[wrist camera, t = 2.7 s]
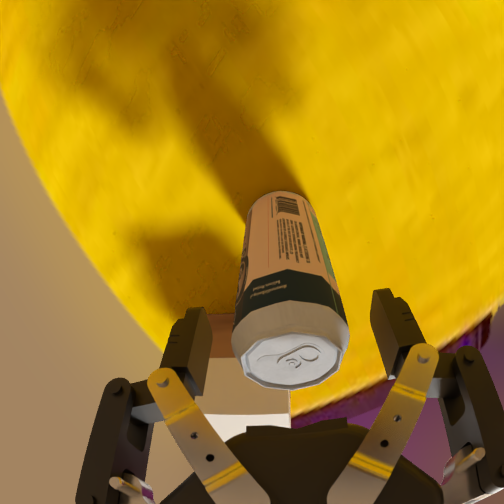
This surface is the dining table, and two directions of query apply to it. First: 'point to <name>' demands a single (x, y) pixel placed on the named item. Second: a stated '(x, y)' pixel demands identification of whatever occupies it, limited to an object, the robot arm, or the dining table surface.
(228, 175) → the dining table surface
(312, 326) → the beer can
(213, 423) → the tower top
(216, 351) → the tower base
